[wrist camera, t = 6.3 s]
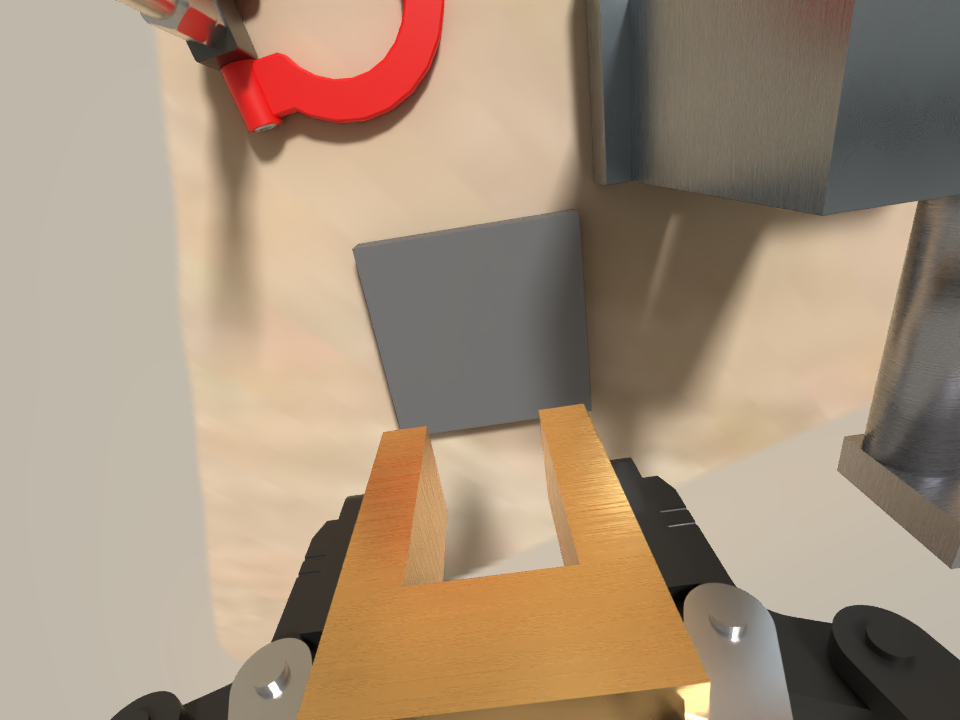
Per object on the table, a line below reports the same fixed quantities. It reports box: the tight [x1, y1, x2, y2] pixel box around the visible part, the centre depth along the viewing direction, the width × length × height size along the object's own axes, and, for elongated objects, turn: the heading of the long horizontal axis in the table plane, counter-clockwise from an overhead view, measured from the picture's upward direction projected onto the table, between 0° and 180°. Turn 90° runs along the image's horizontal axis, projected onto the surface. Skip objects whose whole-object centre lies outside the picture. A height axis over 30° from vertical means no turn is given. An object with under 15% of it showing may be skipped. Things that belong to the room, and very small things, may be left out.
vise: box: [586, 0, 960, 569], centre depth 13 cm, size 15×16×14 cm
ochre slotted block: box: [296, 404, 711, 720], centre depth 10 cm, size 5×3×7 cm, turn 99°
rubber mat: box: [352, 209, 592, 434], centre depth 23 cm, size 10×10×1 cm
